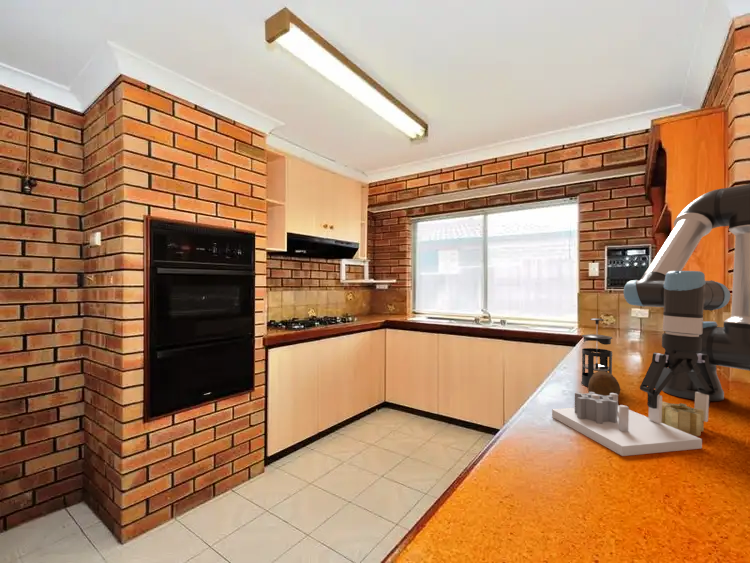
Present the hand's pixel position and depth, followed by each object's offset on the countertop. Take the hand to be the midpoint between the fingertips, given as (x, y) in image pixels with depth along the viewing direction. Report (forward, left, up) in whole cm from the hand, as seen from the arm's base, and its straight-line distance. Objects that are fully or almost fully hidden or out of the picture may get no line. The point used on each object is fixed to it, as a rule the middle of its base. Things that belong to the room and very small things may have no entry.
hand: (677, 420), depth 91 cm
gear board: (+15, -1, -2) cm, 16 cm away
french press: (-10, -36, -2) cm, 37 cm away
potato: (0, -22, -2) cm, 22 cm away
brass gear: (-1, 0, -2) cm, 2 cm away
